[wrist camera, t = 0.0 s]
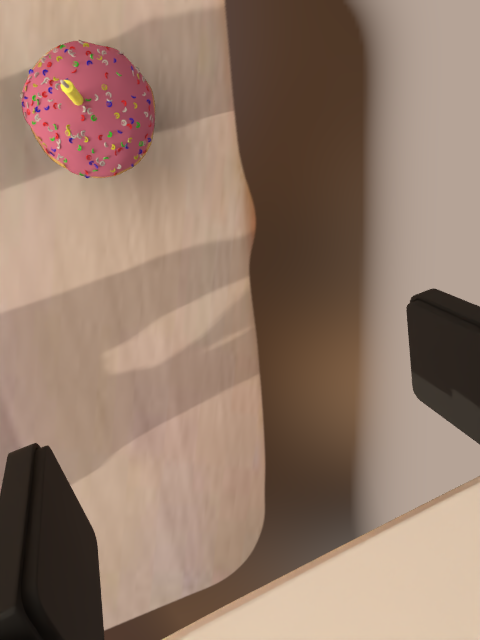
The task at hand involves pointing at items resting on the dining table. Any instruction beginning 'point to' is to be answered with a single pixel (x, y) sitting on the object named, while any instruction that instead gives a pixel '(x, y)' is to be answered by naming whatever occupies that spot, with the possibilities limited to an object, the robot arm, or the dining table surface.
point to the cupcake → (89, 109)
